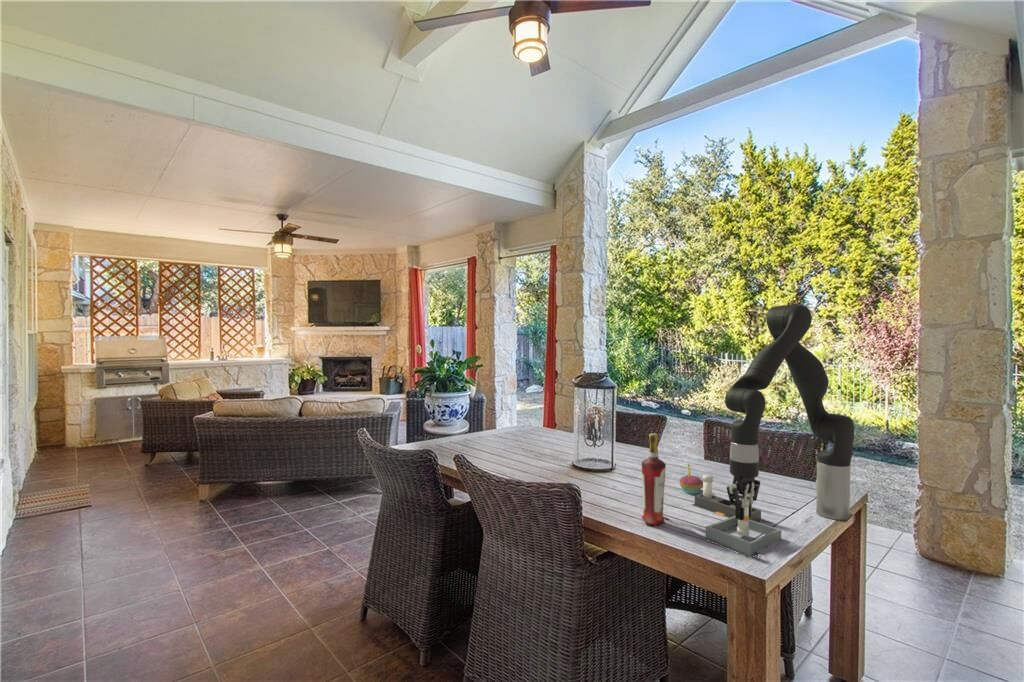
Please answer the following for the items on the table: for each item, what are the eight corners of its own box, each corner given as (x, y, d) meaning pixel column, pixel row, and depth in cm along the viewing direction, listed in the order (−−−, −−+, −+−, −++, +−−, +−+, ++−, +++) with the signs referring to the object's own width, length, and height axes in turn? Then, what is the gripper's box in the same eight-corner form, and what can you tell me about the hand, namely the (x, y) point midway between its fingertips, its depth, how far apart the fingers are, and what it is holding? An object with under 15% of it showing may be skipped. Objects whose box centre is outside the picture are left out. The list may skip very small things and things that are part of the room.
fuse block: (705, 504, 172) (705, 491, 172) (764, 524, 155) (764, 509, 155) (690, 509, 168) (691, 496, 168) (750, 530, 150) (750, 515, 150)
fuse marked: (740, 530, 144) (741, 496, 144) (751, 534, 141) (751, 499, 141) (734, 533, 142) (735, 498, 142) (745, 536, 140) (745, 501, 139)
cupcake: (674, 493, 184) (674, 461, 184) (692, 490, 187) (692, 459, 187) (690, 500, 176) (690, 467, 176) (709, 497, 179) (709, 464, 179)
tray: (736, 528, 152) (736, 515, 152) (781, 544, 141) (781, 530, 140) (705, 540, 143) (705, 526, 143) (750, 558, 132) (751, 543, 132)
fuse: (706, 503, 169) (706, 474, 169) (714, 505, 167) (714, 476, 166) (700, 504, 167) (700, 475, 167) (708, 507, 165) (709, 478, 165)
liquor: (646, 516, 161) (647, 431, 160) (668, 522, 156) (669, 434, 156) (637, 523, 155) (637, 434, 155) (659, 529, 151) (660, 438, 150)
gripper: (742, 465, 134) (742, 528, 135) (770, 457, 142) (769, 516, 142) (717, 459, 140) (717, 519, 141) (745, 451, 148) (744, 508, 149)
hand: (743, 517), depth 142 cm, fingers closed on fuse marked, 3 cm apart
